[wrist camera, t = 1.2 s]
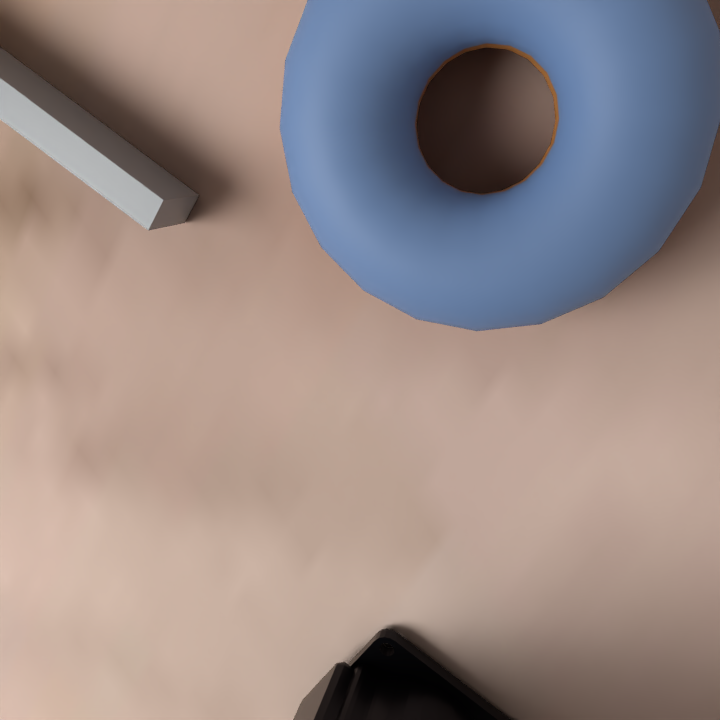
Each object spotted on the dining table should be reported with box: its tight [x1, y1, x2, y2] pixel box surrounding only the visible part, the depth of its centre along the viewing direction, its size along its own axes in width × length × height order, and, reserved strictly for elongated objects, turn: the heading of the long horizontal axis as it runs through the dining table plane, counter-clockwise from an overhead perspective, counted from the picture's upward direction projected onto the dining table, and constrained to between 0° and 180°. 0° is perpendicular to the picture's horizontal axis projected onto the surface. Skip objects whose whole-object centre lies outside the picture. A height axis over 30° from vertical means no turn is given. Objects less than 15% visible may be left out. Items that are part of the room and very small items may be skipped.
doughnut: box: [280, 0, 720, 331], centre depth 16 cm, size 10×10×5 cm
